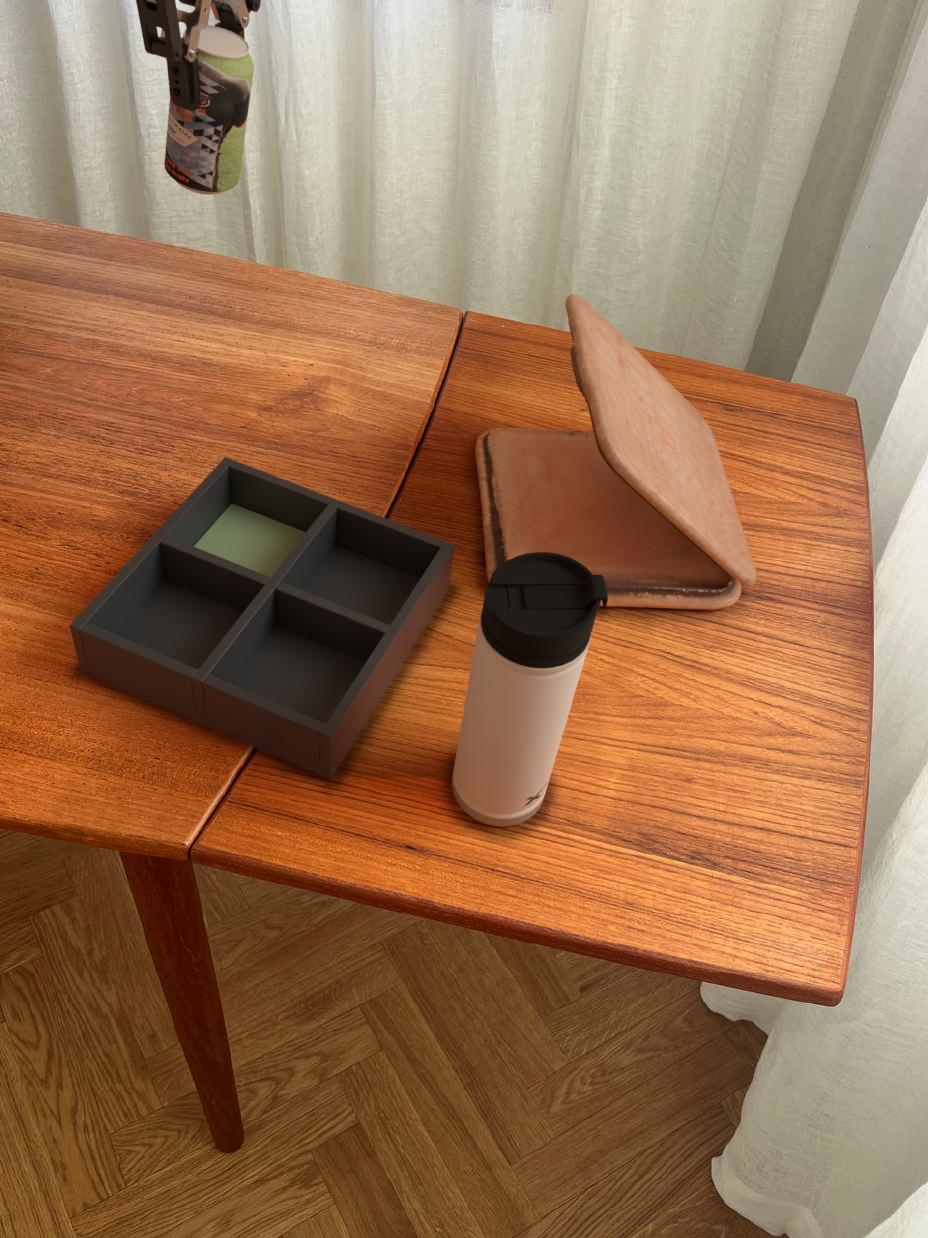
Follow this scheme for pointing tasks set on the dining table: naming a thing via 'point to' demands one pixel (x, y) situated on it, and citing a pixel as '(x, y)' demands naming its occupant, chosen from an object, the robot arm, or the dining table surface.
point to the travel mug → (523, 683)
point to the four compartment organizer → (267, 614)
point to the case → (619, 485)
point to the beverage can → (212, 116)
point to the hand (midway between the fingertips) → (209, 89)
